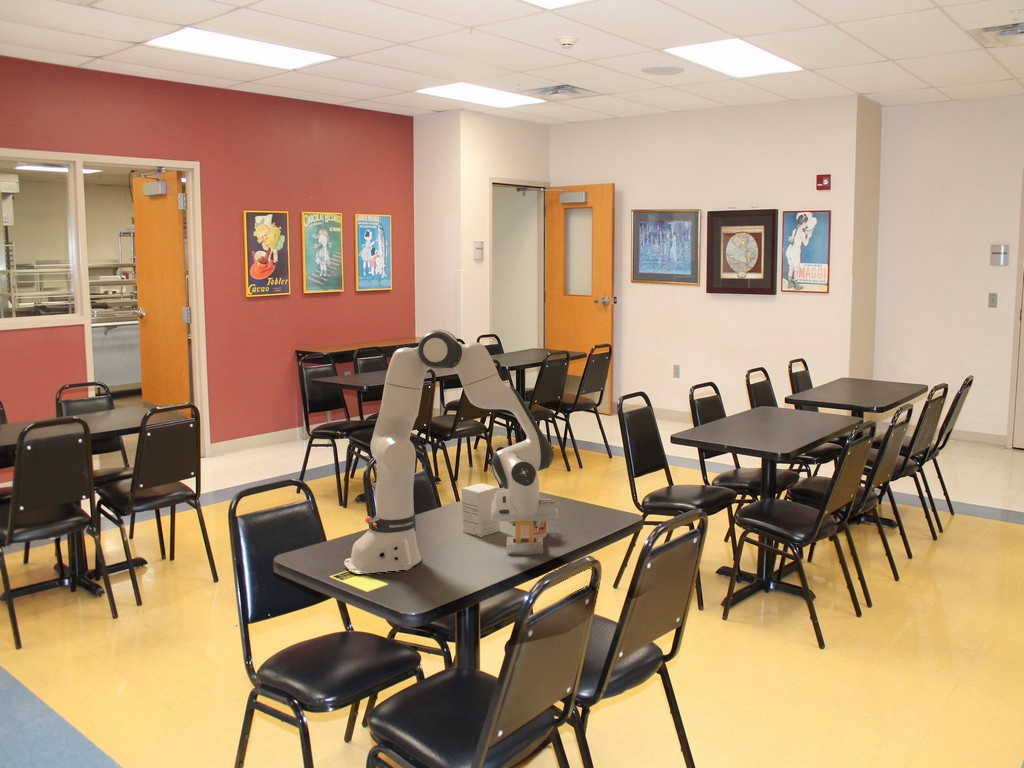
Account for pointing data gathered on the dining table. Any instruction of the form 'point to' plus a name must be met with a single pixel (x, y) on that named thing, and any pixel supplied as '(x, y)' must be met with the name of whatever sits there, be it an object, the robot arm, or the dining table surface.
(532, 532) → the orange notched arch block
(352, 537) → the dining table surface
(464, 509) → the supplement box
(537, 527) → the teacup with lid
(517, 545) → the rectangular frame block
